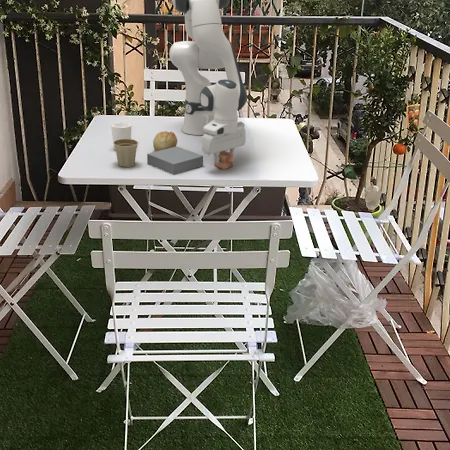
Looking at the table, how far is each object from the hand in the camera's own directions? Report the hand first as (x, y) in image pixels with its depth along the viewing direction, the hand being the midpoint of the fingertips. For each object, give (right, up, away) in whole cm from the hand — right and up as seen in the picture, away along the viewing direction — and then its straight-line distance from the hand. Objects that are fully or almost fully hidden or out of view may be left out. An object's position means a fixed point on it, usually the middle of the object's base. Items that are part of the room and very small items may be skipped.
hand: (223, 160), depth 223 cm
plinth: (-19, -2, 0) cm, 19 cm away
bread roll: (-24, +5, +15) cm, 29 cm away
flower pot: (-37, -2, -1) cm, 37 cm away
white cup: (-41, +6, +15) cm, 44 cm away
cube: (0, -2, +1) cm, 2 cm away
